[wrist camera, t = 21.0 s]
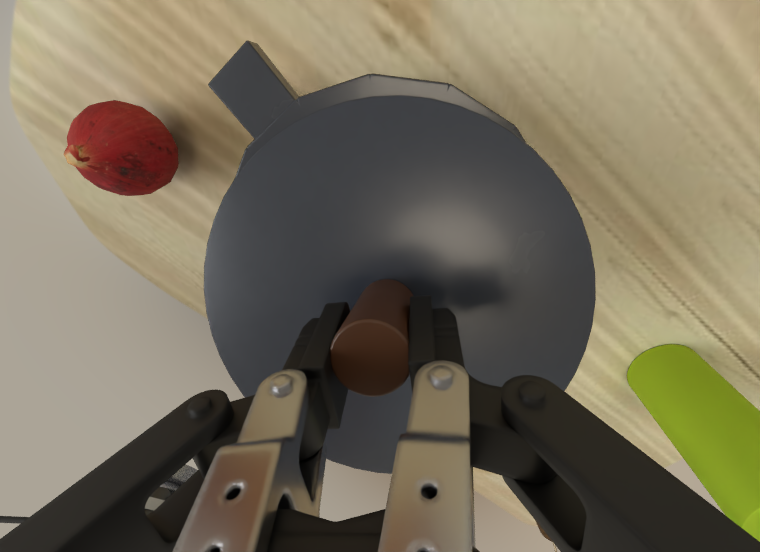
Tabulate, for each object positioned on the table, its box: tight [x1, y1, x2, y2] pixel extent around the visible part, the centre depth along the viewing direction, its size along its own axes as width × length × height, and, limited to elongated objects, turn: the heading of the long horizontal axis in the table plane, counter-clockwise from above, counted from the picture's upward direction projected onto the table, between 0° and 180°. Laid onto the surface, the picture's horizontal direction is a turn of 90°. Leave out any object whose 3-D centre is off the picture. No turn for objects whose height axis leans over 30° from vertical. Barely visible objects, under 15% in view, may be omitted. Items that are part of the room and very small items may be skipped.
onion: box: [64, 100, 179, 196], centre depth 24 cm, size 6×6×8 cm
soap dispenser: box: [627, 344, 760, 542], centre depth 24 cm, size 6×7×20 cm
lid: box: [204, 95, 595, 474], centre depth 13 cm, size 16×16×6 cm
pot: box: [208, 41, 526, 178], centre depth 22 cm, size 15×20×12 cm
